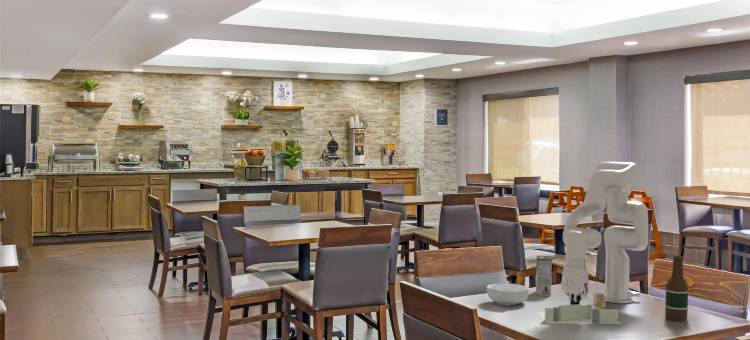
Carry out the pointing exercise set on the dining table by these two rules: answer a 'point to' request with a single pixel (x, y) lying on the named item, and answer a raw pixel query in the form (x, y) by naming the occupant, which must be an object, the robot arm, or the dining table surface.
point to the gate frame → (597, 318)
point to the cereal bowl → (507, 293)
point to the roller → (598, 301)
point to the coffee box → (543, 275)
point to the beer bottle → (677, 293)
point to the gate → (575, 311)
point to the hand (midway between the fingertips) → (574, 311)
